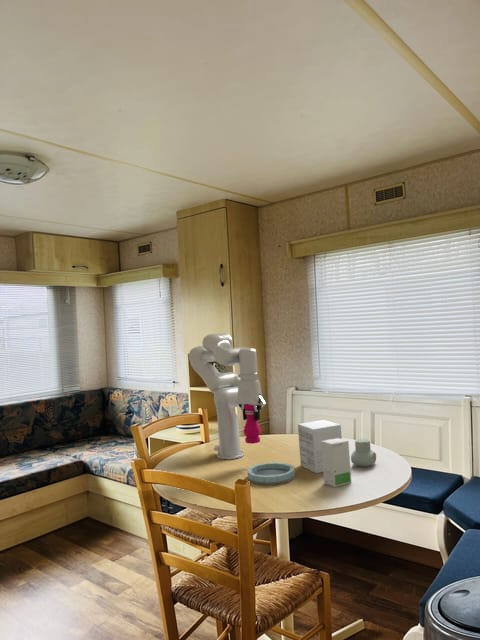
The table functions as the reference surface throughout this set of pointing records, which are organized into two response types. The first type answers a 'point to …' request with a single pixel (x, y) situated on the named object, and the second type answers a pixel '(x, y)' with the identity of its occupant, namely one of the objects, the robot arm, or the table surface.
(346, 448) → the skincare box
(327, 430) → the supplement box
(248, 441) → the pepper mill
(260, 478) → the round tray
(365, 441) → the air freshener
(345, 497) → the table surface
